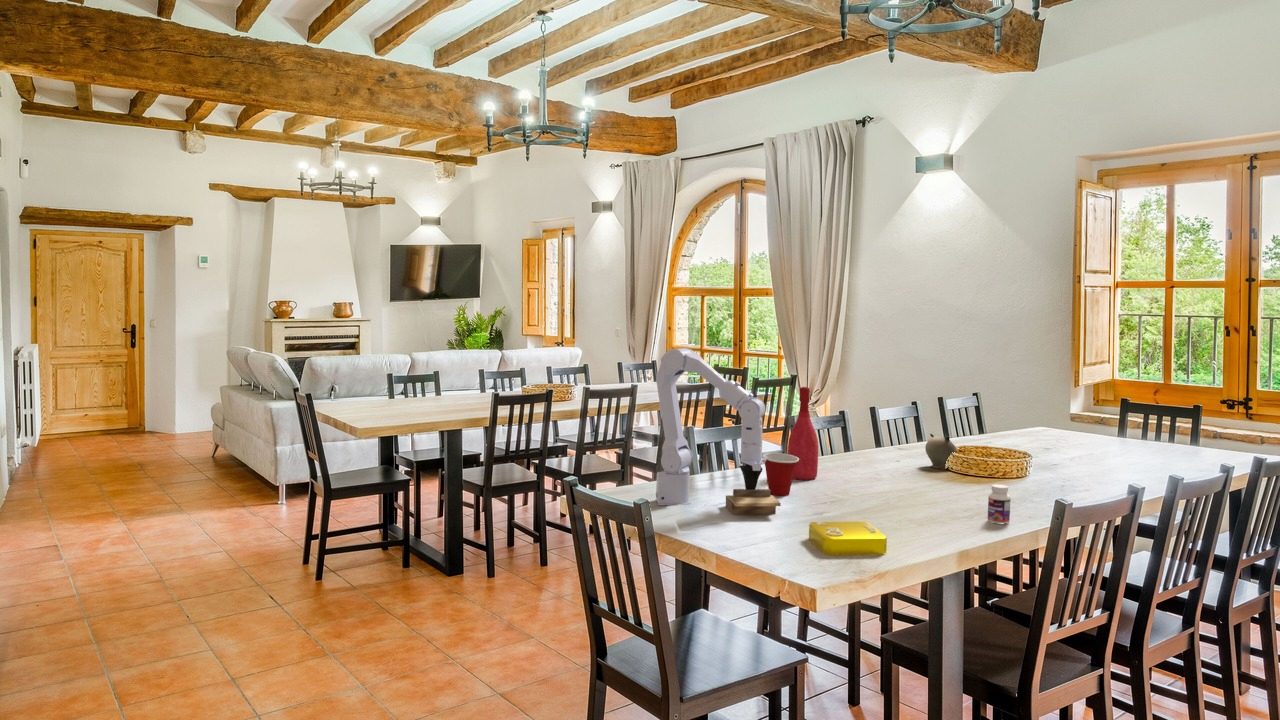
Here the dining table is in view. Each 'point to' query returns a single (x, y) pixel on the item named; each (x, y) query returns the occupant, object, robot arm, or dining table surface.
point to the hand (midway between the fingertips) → (750, 491)
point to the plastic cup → (779, 472)
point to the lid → (753, 497)
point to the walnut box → (749, 508)
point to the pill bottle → (999, 504)
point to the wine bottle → (804, 441)
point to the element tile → (847, 538)
